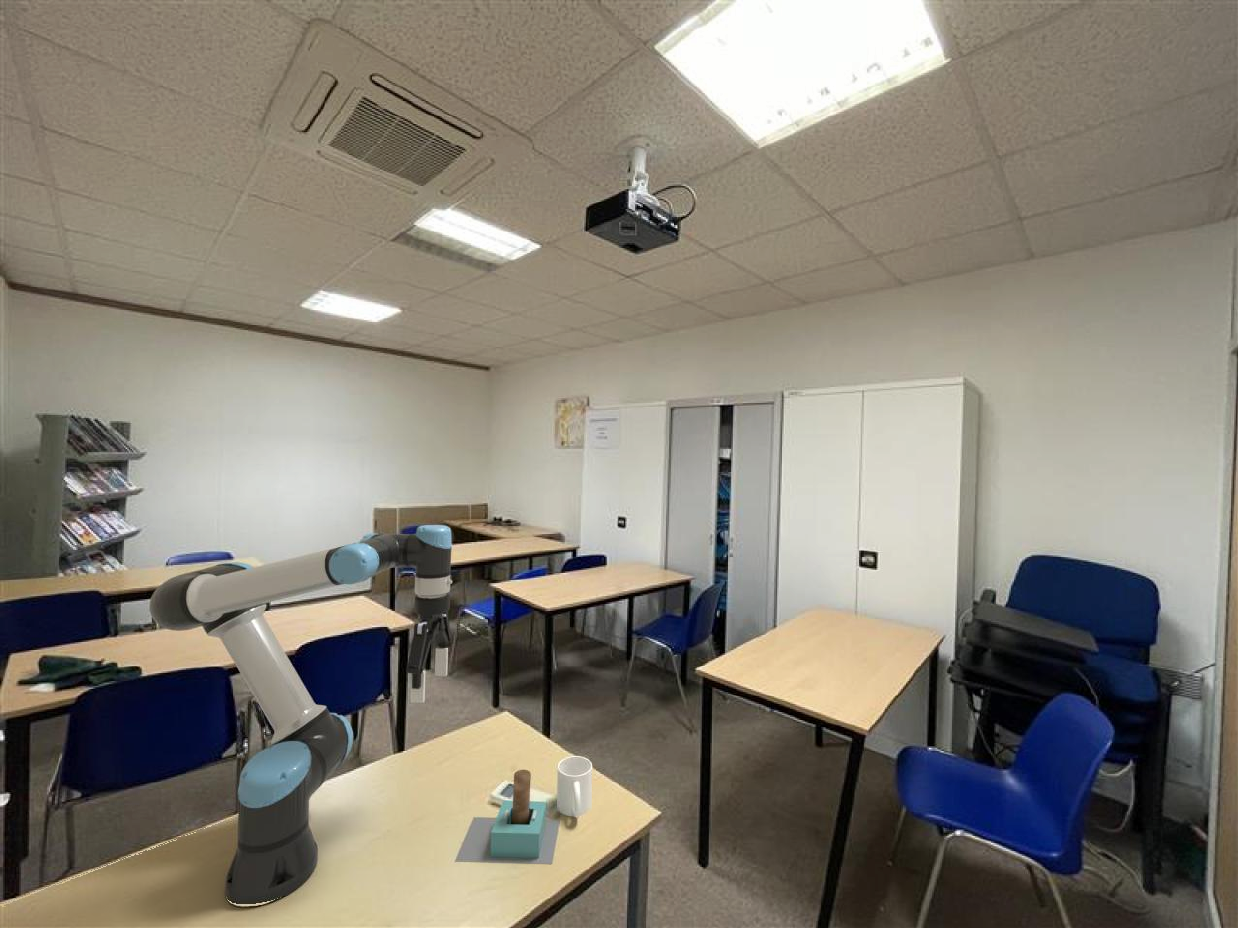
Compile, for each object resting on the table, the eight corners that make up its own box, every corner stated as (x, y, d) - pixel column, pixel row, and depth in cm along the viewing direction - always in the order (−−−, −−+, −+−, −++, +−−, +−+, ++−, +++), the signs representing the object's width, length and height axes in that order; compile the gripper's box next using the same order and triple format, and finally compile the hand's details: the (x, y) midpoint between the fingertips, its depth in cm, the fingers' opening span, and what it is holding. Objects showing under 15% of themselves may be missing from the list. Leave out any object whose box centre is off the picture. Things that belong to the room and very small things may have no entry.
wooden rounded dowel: (509, 844, 107) (512, 779, 107) (513, 832, 111) (515, 769, 111) (526, 845, 107) (529, 779, 107) (529, 833, 111) (532, 769, 111)
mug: (594, 830, 114) (595, 784, 114) (558, 833, 112) (559, 787, 112) (589, 795, 126) (590, 754, 126) (556, 798, 124) (556, 756, 124)
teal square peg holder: (490, 856, 104) (491, 829, 104) (502, 822, 114) (502, 798, 114) (538, 857, 104) (539, 831, 104) (546, 823, 114) (546, 799, 114)
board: (454, 865, 103) (454, 861, 103) (473, 821, 116) (473, 816, 116) (552, 868, 102) (552, 863, 102) (560, 823, 115) (560, 819, 115)
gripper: (427, 610, 101) (424, 715, 101) (466, 581, 126) (464, 666, 126) (390, 609, 101) (387, 714, 101) (436, 581, 126) (434, 665, 126)
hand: (430, 687), depth 113 cm, fingers open, 13 cm apart
